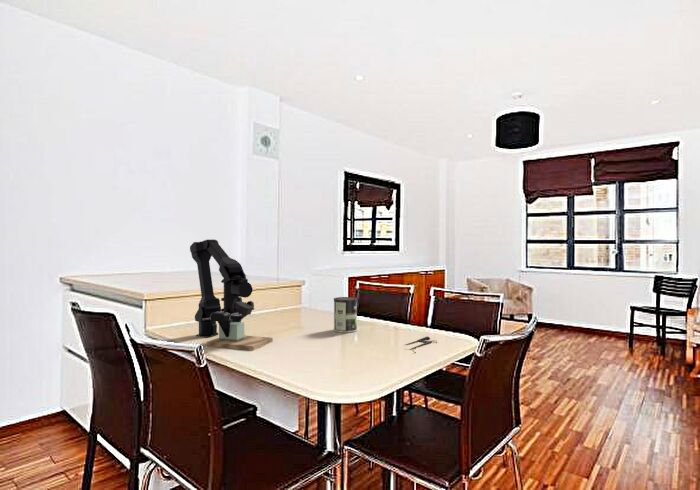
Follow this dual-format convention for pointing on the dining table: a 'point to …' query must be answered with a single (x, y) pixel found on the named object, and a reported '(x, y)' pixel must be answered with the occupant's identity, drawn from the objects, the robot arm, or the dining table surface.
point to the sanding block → (233, 331)
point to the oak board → (241, 343)
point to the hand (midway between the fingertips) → (231, 335)
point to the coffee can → (345, 314)
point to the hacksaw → (421, 344)
